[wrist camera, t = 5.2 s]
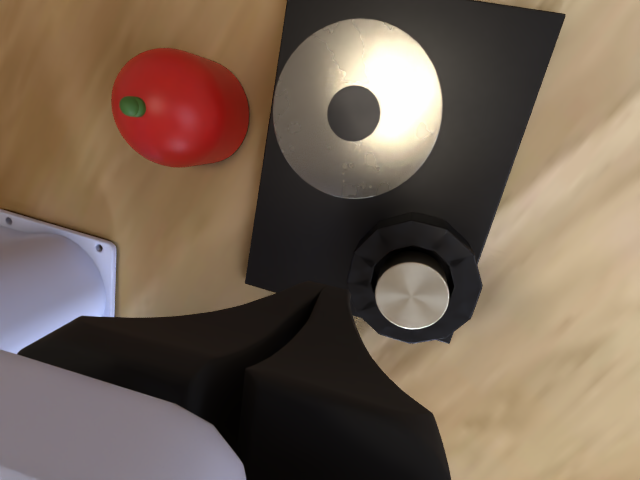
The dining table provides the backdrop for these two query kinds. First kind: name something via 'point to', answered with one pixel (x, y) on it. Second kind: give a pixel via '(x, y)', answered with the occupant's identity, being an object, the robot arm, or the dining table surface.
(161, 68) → the pepper
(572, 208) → the dining table surface
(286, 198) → the hob
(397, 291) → the hob button
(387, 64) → the burner
